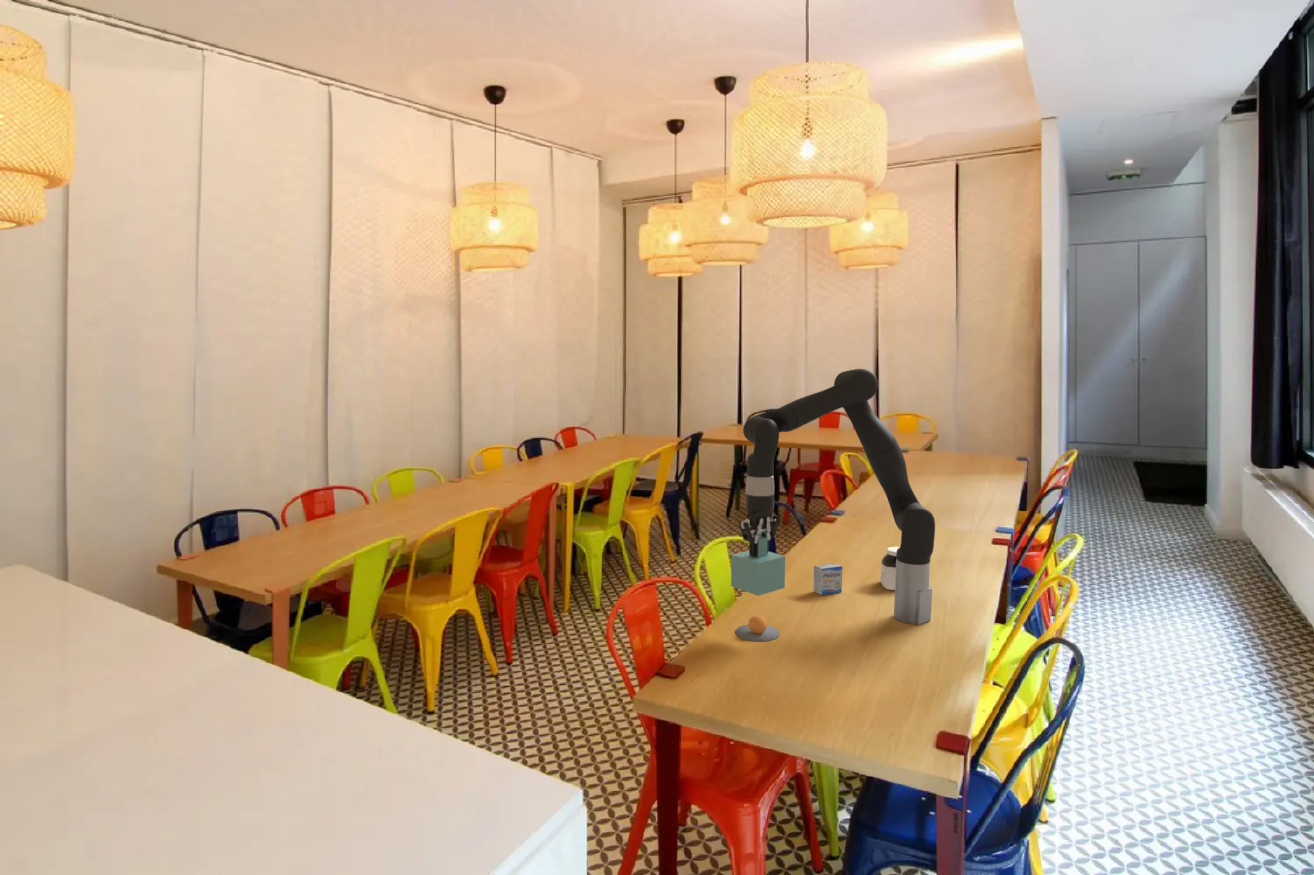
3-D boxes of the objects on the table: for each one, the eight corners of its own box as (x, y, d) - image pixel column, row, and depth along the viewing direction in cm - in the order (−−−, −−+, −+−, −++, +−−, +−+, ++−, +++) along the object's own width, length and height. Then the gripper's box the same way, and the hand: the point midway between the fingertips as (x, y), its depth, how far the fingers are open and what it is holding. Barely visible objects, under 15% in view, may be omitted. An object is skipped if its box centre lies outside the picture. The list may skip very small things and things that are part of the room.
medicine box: (820, 595, 244) (821, 569, 243) (812, 591, 248) (813, 565, 247) (842, 592, 247) (842, 566, 246) (833, 588, 251) (834, 562, 250)
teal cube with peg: (784, 587, 212) (785, 538, 210) (758, 595, 205) (759, 544, 203) (757, 578, 220) (758, 530, 218) (731, 586, 213) (731, 536, 211)
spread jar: (907, 580, 259) (909, 546, 258) (920, 591, 248) (922, 555, 247) (872, 580, 259) (873, 546, 257) (883, 591, 248) (884, 556, 246)
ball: (759, 639, 210) (771, 632, 213) (756, 622, 209) (769, 615, 212) (745, 634, 214) (758, 627, 217) (743, 617, 213) (756, 610, 216)
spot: (789, 634, 213) (789, 633, 213) (758, 645, 206) (758, 644, 206) (757, 621, 222) (757, 620, 222) (726, 631, 215) (726, 630, 215)
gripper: (751, 497, 201) (750, 562, 204) (788, 490, 210) (787, 553, 212) (731, 493, 207) (730, 556, 210) (767, 486, 216) (766, 547, 218)
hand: (759, 554), depth 211 cm, fingers closed on teal cube with peg, 3 cm apart
